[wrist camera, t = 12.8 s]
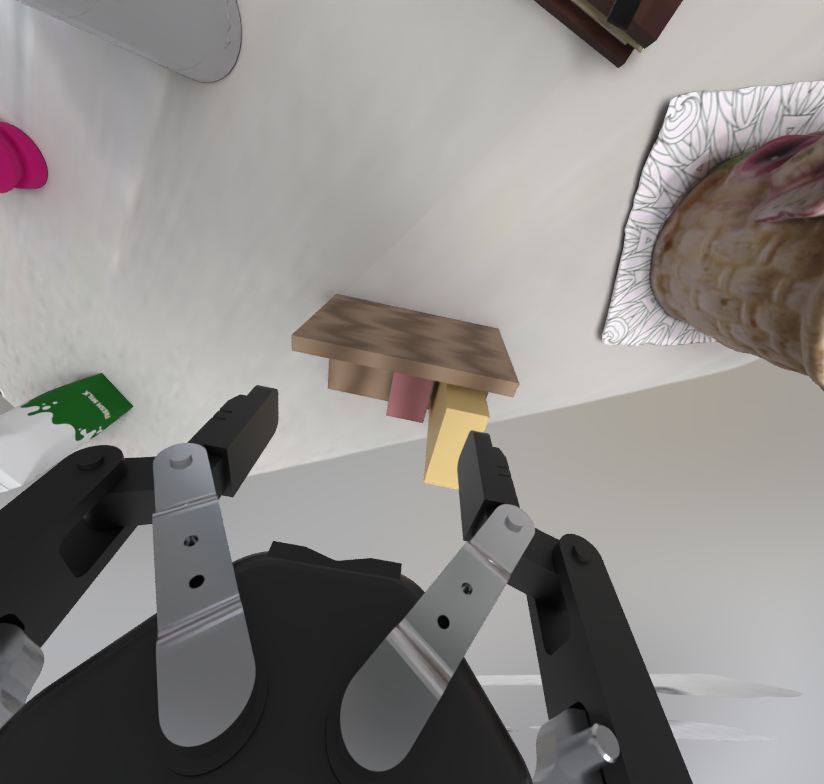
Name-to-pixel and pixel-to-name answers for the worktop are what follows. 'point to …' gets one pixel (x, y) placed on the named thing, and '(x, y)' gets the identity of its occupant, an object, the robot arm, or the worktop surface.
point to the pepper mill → (19, 161)
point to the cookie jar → (730, 229)
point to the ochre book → (451, 429)
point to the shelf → (403, 354)
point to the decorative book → (614, 23)
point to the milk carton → (55, 427)
